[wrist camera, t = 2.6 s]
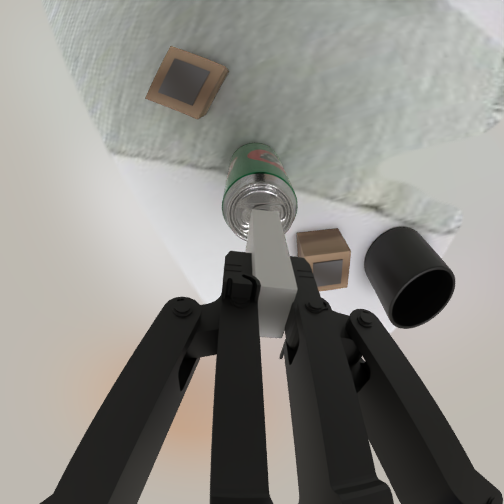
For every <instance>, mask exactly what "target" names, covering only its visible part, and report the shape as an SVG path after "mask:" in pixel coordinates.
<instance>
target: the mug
mask: <svg viewBox="0 0 504 504" xmlns="http://www.w3.org/2000/svg"><path fill="white" fill-rule="evenodd" d="M365 272H366V275H367V277H368V279H369V280H370V282H371V284H372V286H373V288H374V290H375V292H376V294H377V296H378V298H379V300H380V302H381V304H382V306H383V308H384V310H385V312H386V314H387V316H388V318H389V320H390V321H391V323H392V324H393V325H394V326H396V327H398V328H404V329H408V328H414V327H417V326H420V325H422V324H424V323H426V322H428V321H429V320H431V319H432V318H434V317H435V316H436V315H437V314H439V312H441V311H442V310H443V308H444V307H445V306H446V305H447V303H448V302H449V300H450V298H451V296H452V294H453V292H454V289H455V277H454V274H453V272H452V271H451V269H450V268H449V267H448V266H447V265H446V263H445V262H444V261H443V260H442V259H441V258H440V256H439V255H438V254H437V253H436V252H435V251H434V250H433V249H432V247H431V246H430V245H429V244H428V243H427V242H426V241H425V240H424V239H423V238H422V236H421V235H420V234H419V233H418V232H416V231H415V230H413V229H410V228H405V227H400V228H395V229H392V230H389V231H387V232H385V233H384V234H383V235H381V236H380V237H379V238H378V239H377V240H376V241H375V242H374V243H373V244H372V246H371V247H370V249H369V251H368V253H367V256H366V260H365Z"/></svg>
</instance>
